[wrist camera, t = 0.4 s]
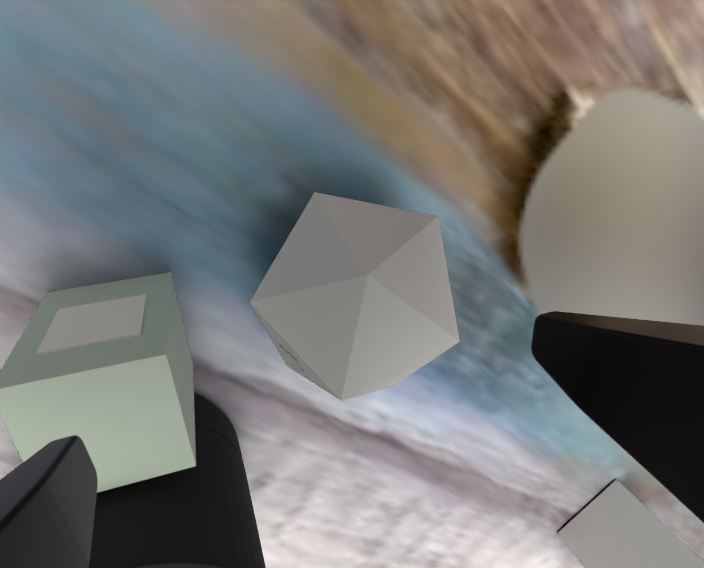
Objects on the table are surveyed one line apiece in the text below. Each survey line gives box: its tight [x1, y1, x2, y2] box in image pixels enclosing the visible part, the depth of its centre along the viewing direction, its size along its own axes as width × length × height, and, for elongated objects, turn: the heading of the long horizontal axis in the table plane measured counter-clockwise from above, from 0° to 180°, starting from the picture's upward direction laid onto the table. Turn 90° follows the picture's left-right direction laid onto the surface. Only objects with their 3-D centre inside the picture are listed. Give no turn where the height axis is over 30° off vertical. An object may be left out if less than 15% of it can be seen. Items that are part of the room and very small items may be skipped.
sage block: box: [0, 272, 196, 493], centre depth 18 cm, size 5×5×7 cm
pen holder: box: [88, 396, 266, 568], centre depth 20 cm, size 9×9×10 cm
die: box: [250, 192, 460, 400], centre depth 20 cm, size 8×9×10 cm
